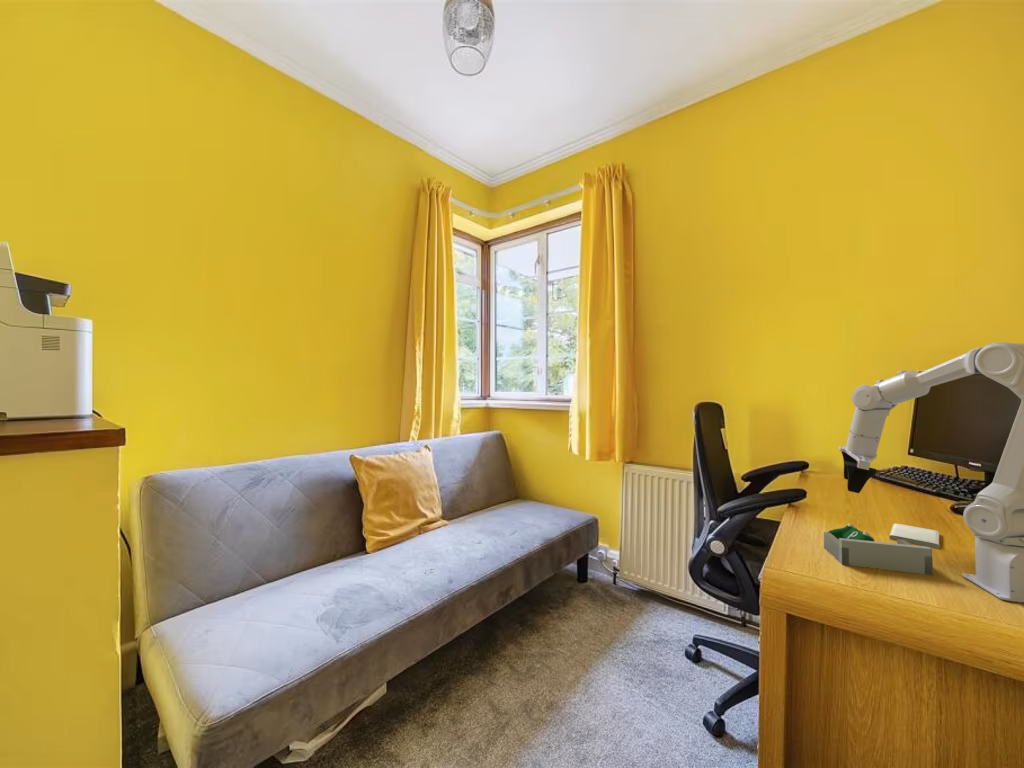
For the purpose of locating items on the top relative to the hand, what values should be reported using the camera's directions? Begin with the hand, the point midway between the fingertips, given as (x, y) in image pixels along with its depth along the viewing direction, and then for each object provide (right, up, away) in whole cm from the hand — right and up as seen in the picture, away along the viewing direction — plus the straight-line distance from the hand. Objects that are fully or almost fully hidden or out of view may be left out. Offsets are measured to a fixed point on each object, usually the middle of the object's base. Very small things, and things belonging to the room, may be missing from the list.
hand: (851, 485), depth 99 cm
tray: (-8, -12, -15) cm, 21 cm away
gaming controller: (-6, -12, -7) cm, 16 cm away
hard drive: (+13, -13, -2) cm, 19 cm away
